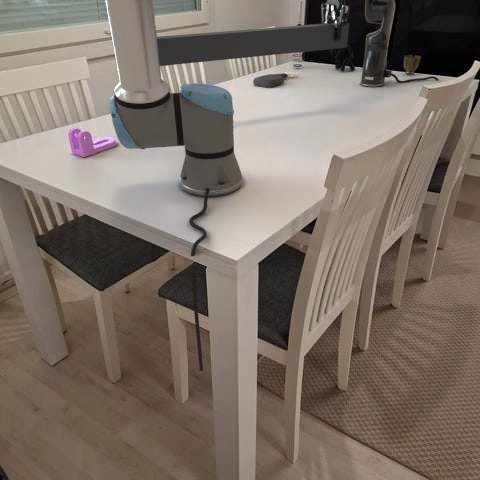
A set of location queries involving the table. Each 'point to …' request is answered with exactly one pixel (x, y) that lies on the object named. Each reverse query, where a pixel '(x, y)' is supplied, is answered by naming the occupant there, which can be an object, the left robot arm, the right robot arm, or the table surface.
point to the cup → (411, 63)
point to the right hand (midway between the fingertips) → (332, 39)
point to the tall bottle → (298, 52)
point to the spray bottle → (272, 79)
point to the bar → (248, 43)
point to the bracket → (88, 143)
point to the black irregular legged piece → (341, 56)
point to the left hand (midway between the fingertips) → (148, 63)
